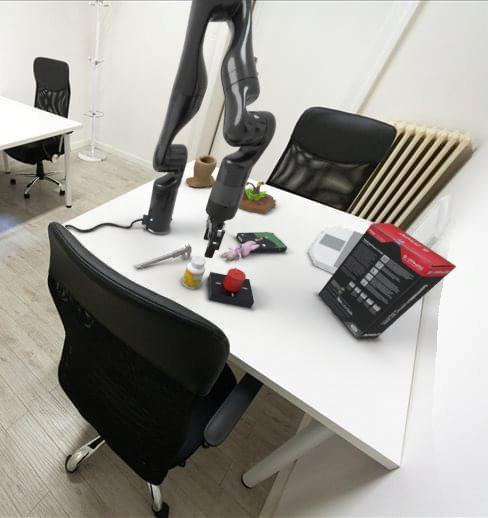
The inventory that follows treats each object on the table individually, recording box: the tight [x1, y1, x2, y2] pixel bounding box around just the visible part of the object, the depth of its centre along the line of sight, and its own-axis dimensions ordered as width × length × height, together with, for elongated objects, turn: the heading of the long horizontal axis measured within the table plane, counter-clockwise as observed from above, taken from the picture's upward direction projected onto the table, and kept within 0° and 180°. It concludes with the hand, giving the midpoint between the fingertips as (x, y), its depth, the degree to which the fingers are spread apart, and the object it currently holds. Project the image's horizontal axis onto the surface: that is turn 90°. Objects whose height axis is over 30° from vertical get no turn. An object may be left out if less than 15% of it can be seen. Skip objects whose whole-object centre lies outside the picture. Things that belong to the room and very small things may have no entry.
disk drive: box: [235, 231, 288, 254], centre depth 110 cm, size 10×3×15 cm
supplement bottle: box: [182, 256, 206, 290], centre depth 90 cm, size 5×5×10 cm
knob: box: [223, 267, 247, 292], centre depth 87 cm, size 5×5×5 cm
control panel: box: [207, 271, 255, 309], centre depth 89 cm, size 12×10×3 cm
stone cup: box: [185, 154, 218, 188], centre depth 145 cm, size 15×12×15 cm
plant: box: [238, 181, 277, 215], centre depth 134 cm, size 20×20×11 cm
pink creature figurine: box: [220, 241, 259, 262], centre depth 104 cm, size 6×6×15 cm
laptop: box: [308, 193, 453, 275], centre depth 99 cm, size 33×24×26 cm
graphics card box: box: [318, 222, 457, 340], centre depth 76 cm, size 17×7×27 cm, turn 5°
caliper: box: [135, 243, 193, 269], centre depth 99 cm, size 20×1×6 cm, turn 109°
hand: (207, 248), depth 84 cm, fingers open, 8 cm apart
